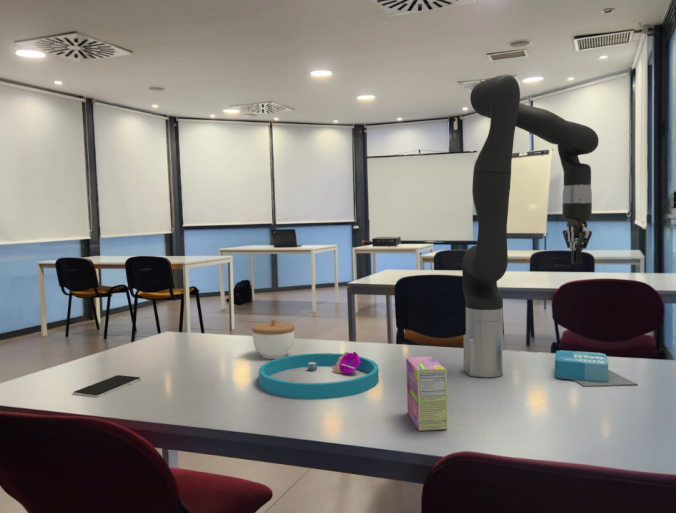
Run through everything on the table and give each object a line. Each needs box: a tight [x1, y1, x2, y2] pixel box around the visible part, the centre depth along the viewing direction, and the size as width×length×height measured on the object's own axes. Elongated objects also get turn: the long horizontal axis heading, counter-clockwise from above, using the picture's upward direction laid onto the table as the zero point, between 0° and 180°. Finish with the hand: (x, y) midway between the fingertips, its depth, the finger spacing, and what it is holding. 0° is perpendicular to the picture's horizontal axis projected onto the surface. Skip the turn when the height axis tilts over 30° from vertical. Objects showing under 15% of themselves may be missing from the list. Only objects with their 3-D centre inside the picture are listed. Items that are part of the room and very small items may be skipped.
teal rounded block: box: [554, 349, 609, 382], centre depth 141 cm, size 12×4×12 cm
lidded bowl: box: [251, 318, 296, 360], centre depth 166 cm, size 13×13×11 cm
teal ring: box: [258, 351, 380, 400], centre depth 140 cm, size 30×30×6 cm
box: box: [405, 356, 448, 432], centre depth 110 cm, size 10×6×12 cm, turn 5°
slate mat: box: [572, 369, 638, 388], centre depth 138 cm, size 13×14×1 cm
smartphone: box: [72, 374, 141, 399], centre depth 137 cm, size 8×1×15 cm
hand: (576, 263), depth 156 cm, fingers closed
